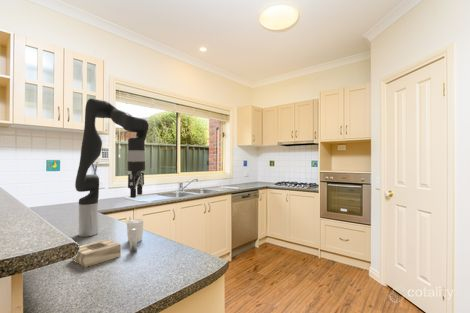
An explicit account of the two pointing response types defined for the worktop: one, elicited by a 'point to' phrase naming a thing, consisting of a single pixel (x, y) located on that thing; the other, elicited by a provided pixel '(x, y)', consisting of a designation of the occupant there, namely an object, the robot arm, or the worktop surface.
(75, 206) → the worktop surface
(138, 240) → the white cup
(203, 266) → the worktop surface
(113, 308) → the worktop surface
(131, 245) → the steel pin
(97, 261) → the wooden peg hole block
